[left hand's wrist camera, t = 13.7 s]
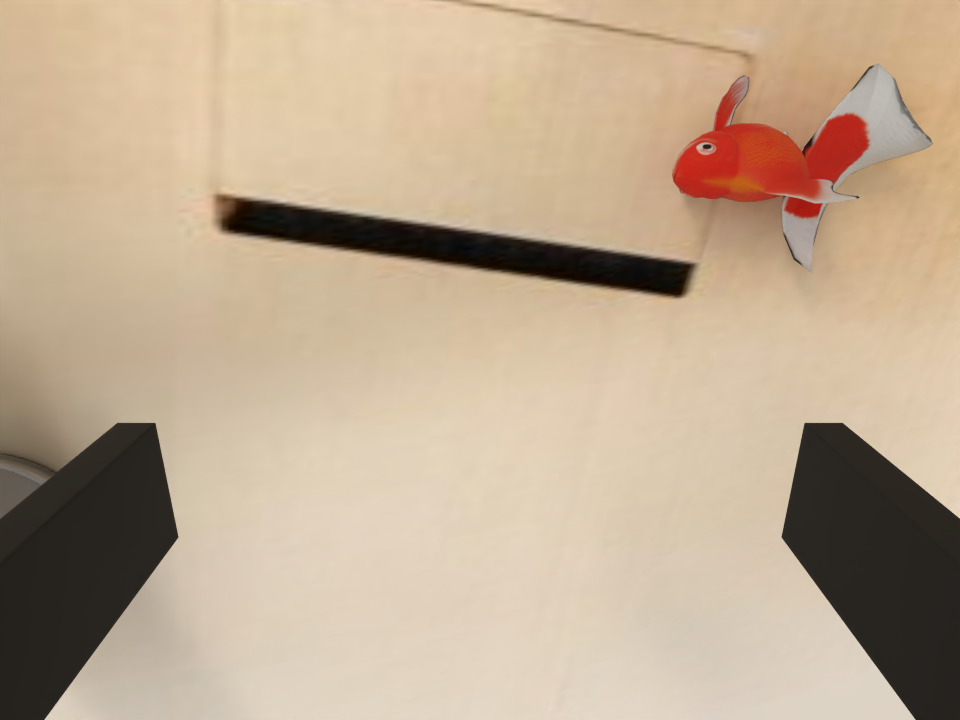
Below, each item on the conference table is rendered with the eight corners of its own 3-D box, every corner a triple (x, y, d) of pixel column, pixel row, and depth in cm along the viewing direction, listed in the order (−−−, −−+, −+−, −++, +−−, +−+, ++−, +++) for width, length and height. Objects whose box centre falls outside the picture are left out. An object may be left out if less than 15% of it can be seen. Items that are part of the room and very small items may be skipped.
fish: (712, -17, 32) (845, 58, 26) (886, 61, 40) (1024, 135, 33) (612, 170, 39) (699, 267, 32) (778, 207, 46) (876, 292, 40)
